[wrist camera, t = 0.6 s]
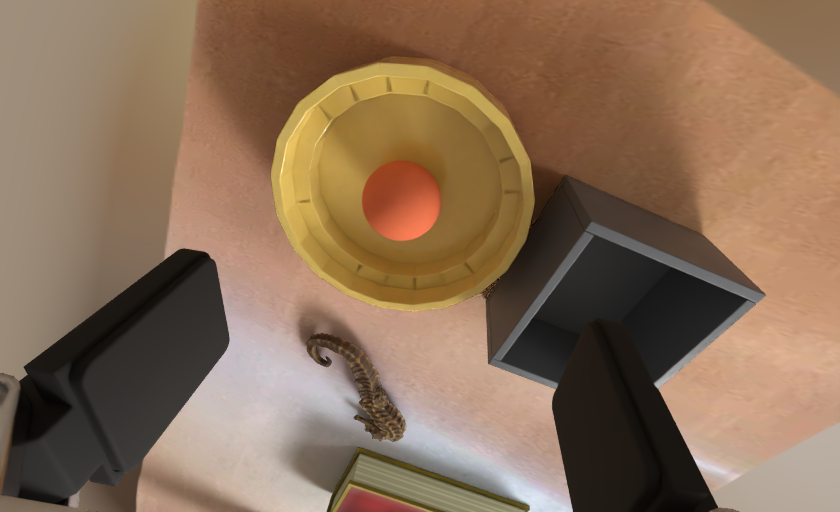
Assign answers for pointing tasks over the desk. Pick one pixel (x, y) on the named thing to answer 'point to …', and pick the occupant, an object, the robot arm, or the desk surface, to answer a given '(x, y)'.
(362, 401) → the seahorse
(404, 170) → the toy ball
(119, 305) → the robot arm
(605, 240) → the bin
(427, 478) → the hardcover book
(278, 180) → the bowl
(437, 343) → the desk surface
